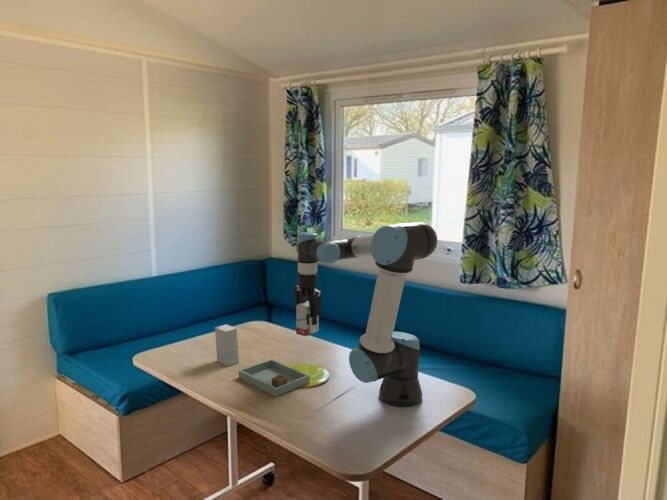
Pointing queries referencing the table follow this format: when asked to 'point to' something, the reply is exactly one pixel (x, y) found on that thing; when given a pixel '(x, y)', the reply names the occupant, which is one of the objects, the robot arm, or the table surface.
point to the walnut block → (279, 381)
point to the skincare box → (227, 345)
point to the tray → (269, 369)
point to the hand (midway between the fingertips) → (307, 330)
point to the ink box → (304, 319)
